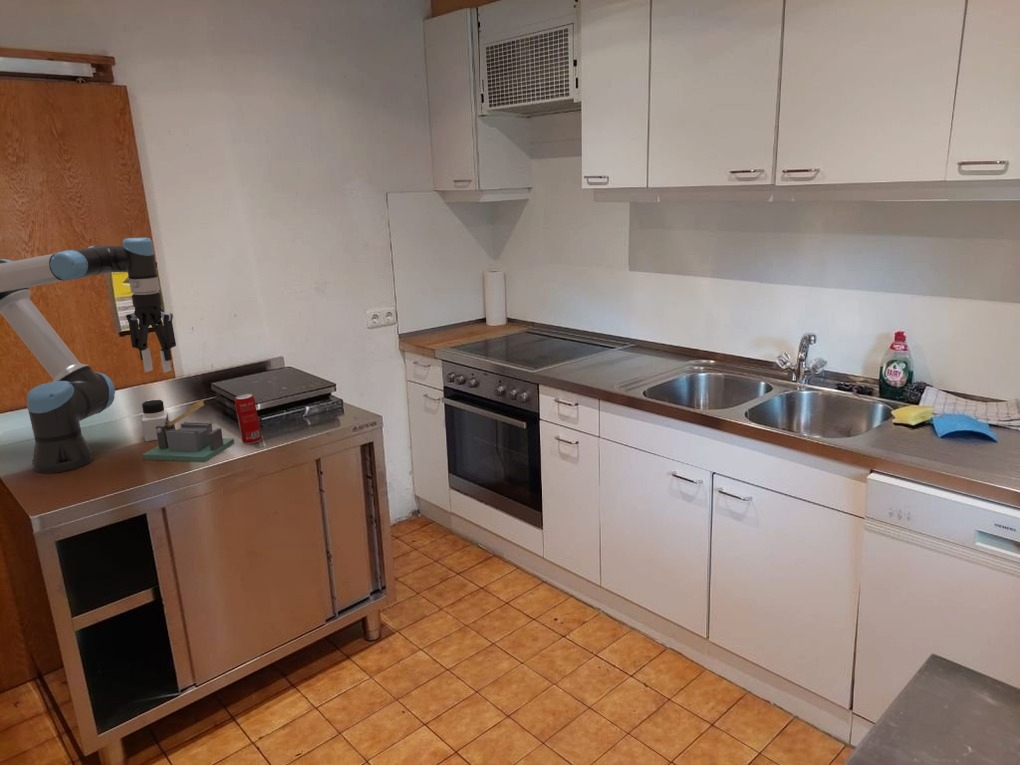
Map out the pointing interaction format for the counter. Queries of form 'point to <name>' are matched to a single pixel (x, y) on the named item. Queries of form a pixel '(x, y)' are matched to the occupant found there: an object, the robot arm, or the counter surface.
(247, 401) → the beverage can
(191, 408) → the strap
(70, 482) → the counter surface
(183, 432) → the board
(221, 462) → the counter surface
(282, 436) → the counter surface
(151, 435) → the medicine bottle
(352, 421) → the counter surface
